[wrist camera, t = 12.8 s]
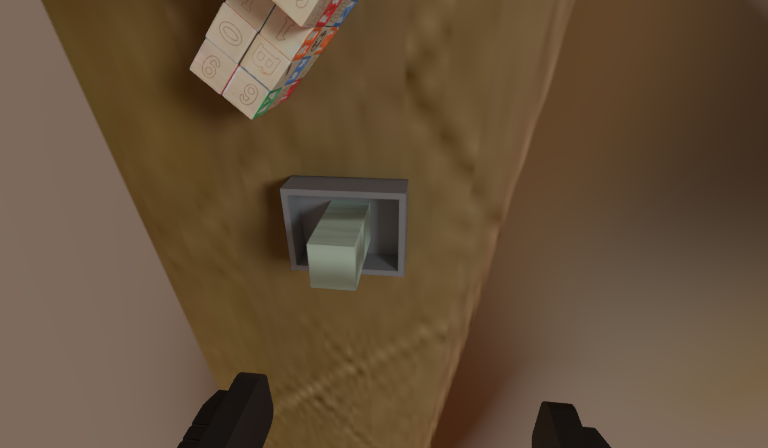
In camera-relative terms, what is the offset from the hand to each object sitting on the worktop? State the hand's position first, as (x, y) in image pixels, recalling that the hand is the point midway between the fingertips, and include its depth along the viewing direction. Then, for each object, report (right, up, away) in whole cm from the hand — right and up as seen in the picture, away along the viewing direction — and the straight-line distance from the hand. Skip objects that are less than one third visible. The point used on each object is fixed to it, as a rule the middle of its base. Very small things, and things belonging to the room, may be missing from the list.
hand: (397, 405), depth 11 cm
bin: (-4, +6, +34) cm, 35 cm away
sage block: (-4, +6, +33) cm, 34 cm away
